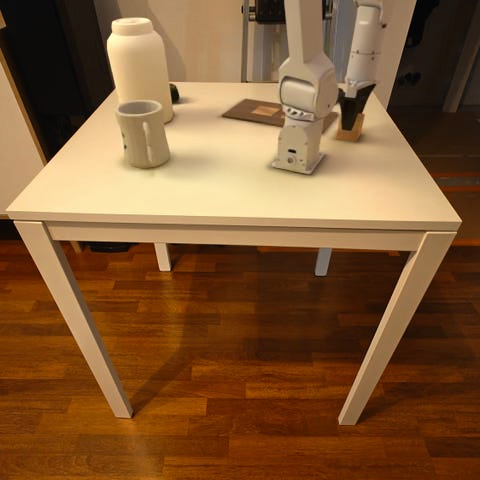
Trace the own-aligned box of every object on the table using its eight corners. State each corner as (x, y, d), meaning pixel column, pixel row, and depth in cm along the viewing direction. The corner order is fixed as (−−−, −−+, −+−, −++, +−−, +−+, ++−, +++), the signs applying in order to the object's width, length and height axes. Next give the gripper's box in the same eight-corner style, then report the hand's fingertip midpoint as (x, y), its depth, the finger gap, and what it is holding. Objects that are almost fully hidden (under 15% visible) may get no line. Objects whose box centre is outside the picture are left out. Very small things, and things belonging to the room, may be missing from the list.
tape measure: (155, 106, 97) (152, 90, 94) (153, 98, 102) (151, 83, 99) (180, 104, 98) (178, 88, 95) (177, 96, 103) (176, 81, 100)
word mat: (321, 133, 83) (321, 131, 82) (221, 116, 91) (221, 114, 90) (337, 114, 91) (337, 111, 91) (245, 100, 100) (245, 98, 99)
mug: (123, 153, 76) (110, 102, 69) (165, 147, 78) (157, 96, 71) (132, 180, 68) (119, 125, 60) (179, 172, 70) (172, 118, 63)
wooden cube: (355, 142, 79) (360, 120, 76) (335, 138, 81) (339, 116, 77) (360, 134, 82) (365, 113, 79) (341, 131, 84) (345, 110, 80)
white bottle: (136, 132, 84) (114, 27, 70) (115, 117, 91) (91, 18, 77) (183, 120, 89) (171, 20, 75) (159, 106, 96) (145, 13, 82)
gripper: (379, 61, 64) (361, 138, 74) (393, 45, 73) (376, 115, 83) (340, 58, 66) (328, 133, 76) (358, 42, 75) (345, 111, 85)
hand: (351, 123), depth 79 cm, fingers open, 7 cm apart
